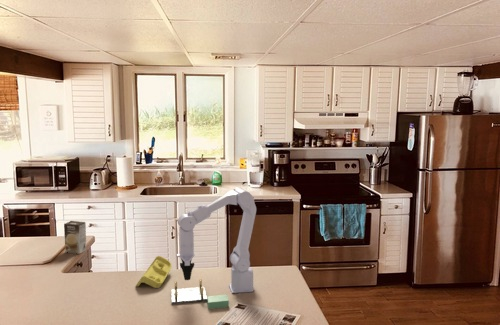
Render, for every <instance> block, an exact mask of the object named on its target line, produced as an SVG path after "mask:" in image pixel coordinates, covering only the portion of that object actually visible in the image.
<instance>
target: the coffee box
mask: <svg viewBox="0 0 500 325" xmlns="http://www.w3.org/2000/svg"><path fill="white" fill-rule="evenodd" d="M63 225H64V227H63V228H64V251H65V253H67V252H68V254H76V253H77V255H78V254H79V255H80V254H82V253H84V252H85V251H87V233H86V222H85V221H77V220H70V221H68V222H66V223H64V224H63Z"/></svg>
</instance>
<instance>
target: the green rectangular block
mask: <svg viewBox="0 0 500 325" xmlns="http://www.w3.org/2000/svg"><path fill="white" fill-rule="evenodd" d="M206 297H207V301H206V304H207V308H208V310H212V309H222V308H223V309H224V308H229V307H230V301H229V297H228V295H227V294H219V295H218V294H216V295H210V296H209V295H206Z"/></svg>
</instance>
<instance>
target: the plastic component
mask: <svg viewBox="0 0 500 325" xmlns="http://www.w3.org/2000/svg"><path fill="white" fill-rule="evenodd" d="M171 269H172V262H171V261H169V260H168V259H167V258H165V257H162V256H161V255H157V256H156V257H155V258H154V260H153V261H152V263H151V264H150V265H149V267H148V268H147V269H146V271H145V273H143V275H142V276H141V278H140V279H139V281H137V283H136V284H135V287H139V286H140V285H141V283H144V284H146V285H148V286H150V287H152V288H155V289H159V288H161V286H162V285H163V284H164V282H165V280H166V278H167V276H168V275H169V273H170V271H171Z"/></svg>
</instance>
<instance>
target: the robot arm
mask: <svg viewBox="0 0 500 325" xmlns="http://www.w3.org/2000/svg"><path fill="white" fill-rule="evenodd" d="M255 203H256V202H255V198H254V196H253V195H252V194H251V193H250V192H249V191H247V190H244V189H243V188H242V187H239V186H237V187H234V189H231V190H229V191H228V192H227V193H225V194H223V195H222V196H221V197H218V198H217V199H215V200H214V201H212V202H211V203H209V204H207V205H206V204H202V205H201V204H198V205H197V207H196V208H194V209H193V210H191V211H187V213H183V214H180V215H179V217H178V220H177V224H178V226H179V233H178V234H179V236H178V237H179V253H176V258H180V260H181V262H179V266H180V268H181V270H182V274H183V279H184V280H185V281H189V280H191V277H192V272H193V269H194V267H195V262H192V260H193V258H194V257H195V250H194V249H195V247H194V246H195V244H194V241H195V240H194V228H195V226H196V225H198V224H200V223H202V222H204V221H205V220H208V218H210V217H211V216H212V213H214V212H215V211H217V210H219V209H221V208H224V207H225V206H227V205H234V206H238V205H239V207H240V208H241V209H242V212H243V213H242V219H241V223H240V228H239V232H238V237H237V241H236V246H234V247H233V250H232V253H231V254H230V256H229V262H230V263H231V272H230V274H231V276H230V278H231V283H229V285H228V286H229V289H230V292H231V293H232V294H236V293H237V294H241V293H248V292H249V293H251V292H254V270H253V268H252V267H250V266H251V261H250V258H251V257H250V256H251V255H250V251H249V247H250V242H251V238H252V234H253V228H254V224H255V220H256V219H255V218H256V215H257V206H256V204H255Z"/></svg>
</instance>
